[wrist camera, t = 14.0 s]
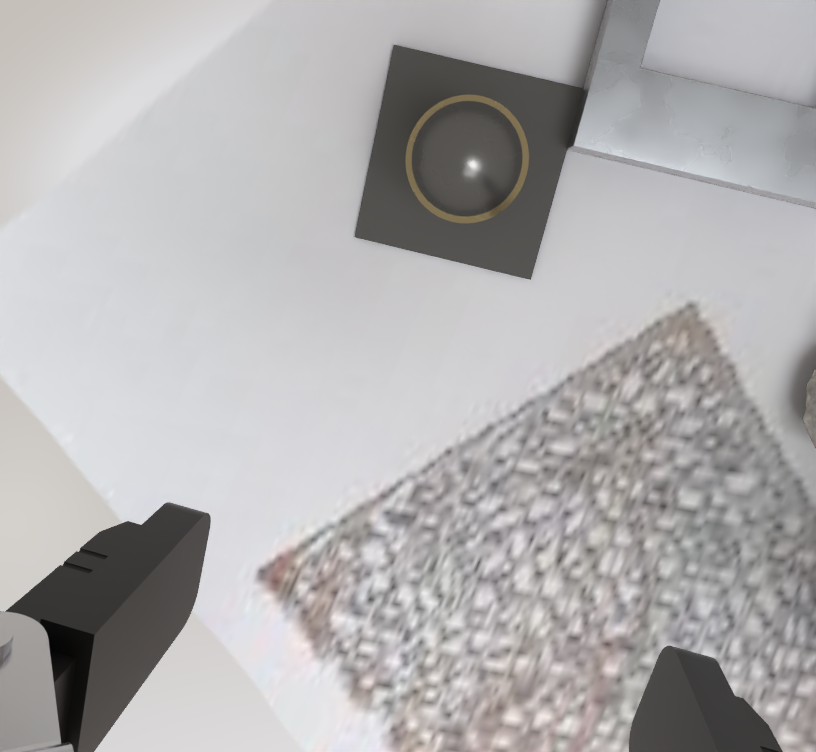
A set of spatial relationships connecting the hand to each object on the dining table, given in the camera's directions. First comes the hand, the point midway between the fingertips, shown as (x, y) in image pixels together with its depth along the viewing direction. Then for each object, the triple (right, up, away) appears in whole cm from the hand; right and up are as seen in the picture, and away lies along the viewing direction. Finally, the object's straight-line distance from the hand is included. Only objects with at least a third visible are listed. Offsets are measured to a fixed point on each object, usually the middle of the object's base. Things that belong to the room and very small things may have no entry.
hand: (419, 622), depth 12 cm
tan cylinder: (+3, +15, +25) cm, 29 cm away
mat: (+3, +16, +25) cm, 30 cm away
